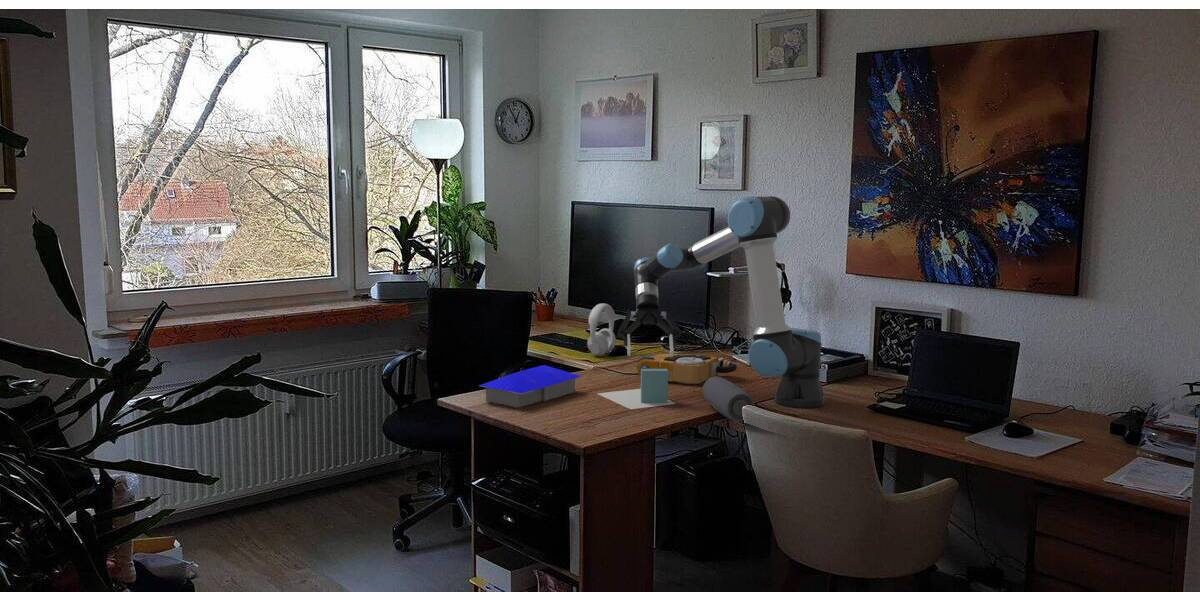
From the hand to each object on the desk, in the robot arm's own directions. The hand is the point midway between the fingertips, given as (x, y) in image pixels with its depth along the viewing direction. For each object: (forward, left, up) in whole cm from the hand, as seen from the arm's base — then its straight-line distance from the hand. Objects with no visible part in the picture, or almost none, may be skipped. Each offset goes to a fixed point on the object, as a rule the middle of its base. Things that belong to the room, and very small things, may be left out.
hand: (650, 353), depth 309 cm
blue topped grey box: (+16, +34, -14) cm, 40 cm away
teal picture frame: (-9, +4, -13) cm, 16 cm away
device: (+17, -25, -14) cm, 33 cm away
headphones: (+66, -17, -14) cm, 70 cm away
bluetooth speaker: (-31, -8, -14) cm, 35 cm away
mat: (-3, +7, -14) cm, 16 cm away
